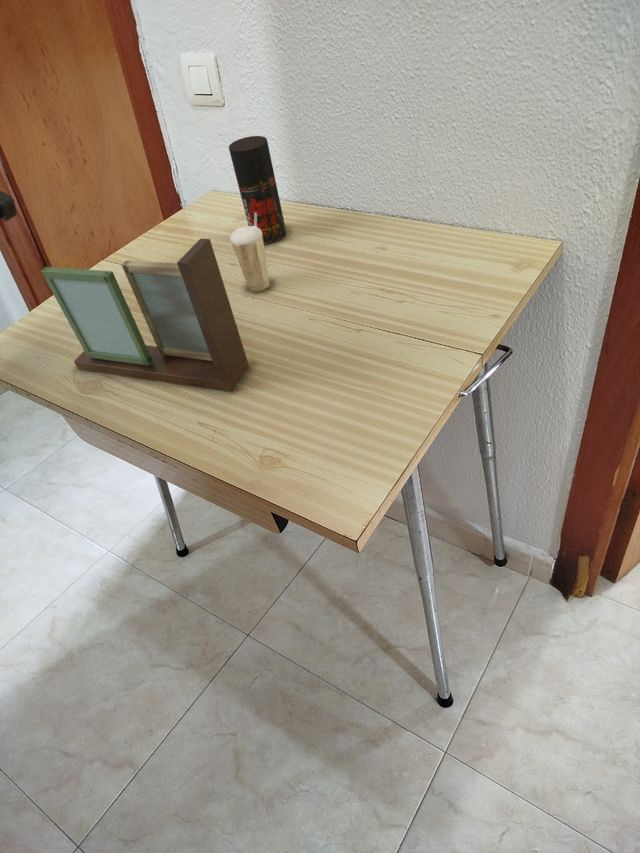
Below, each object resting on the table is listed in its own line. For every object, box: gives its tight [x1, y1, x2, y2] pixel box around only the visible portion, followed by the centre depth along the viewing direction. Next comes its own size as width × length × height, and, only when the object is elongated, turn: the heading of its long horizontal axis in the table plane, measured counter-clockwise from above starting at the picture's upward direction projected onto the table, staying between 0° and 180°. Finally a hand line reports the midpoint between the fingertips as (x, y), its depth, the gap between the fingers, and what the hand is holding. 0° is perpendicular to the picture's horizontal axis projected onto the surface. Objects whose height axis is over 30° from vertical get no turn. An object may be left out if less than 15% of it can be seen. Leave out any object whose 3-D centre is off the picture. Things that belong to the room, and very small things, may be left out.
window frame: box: [73, 238, 250, 393], centre depth 71 cm, size 24×5×17 cm, turn 68°
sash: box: [40, 266, 153, 366], centre depth 72 cm, size 10×1×13 cm, turn 68°
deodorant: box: [228, 135, 287, 245], centre depth 94 cm, size 6×6×15 cm
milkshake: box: [229, 213, 270, 293], centre depth 85 cm, size 5×5×10 cm
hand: (11, 211), depth 66 cm, fingers closed
